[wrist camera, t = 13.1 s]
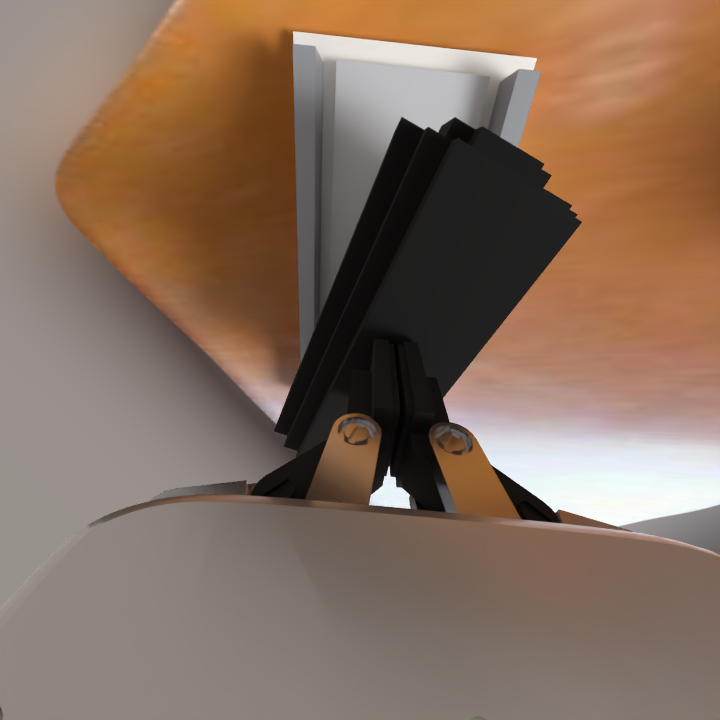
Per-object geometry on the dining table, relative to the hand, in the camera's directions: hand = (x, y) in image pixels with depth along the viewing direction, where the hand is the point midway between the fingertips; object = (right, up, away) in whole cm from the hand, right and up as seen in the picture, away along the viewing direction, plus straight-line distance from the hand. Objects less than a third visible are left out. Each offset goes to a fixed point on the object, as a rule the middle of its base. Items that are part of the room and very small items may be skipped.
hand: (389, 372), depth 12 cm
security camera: (0, +5, +9) cm, 10 cm away
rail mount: (0, +6, +10) cm, 12 cm away
